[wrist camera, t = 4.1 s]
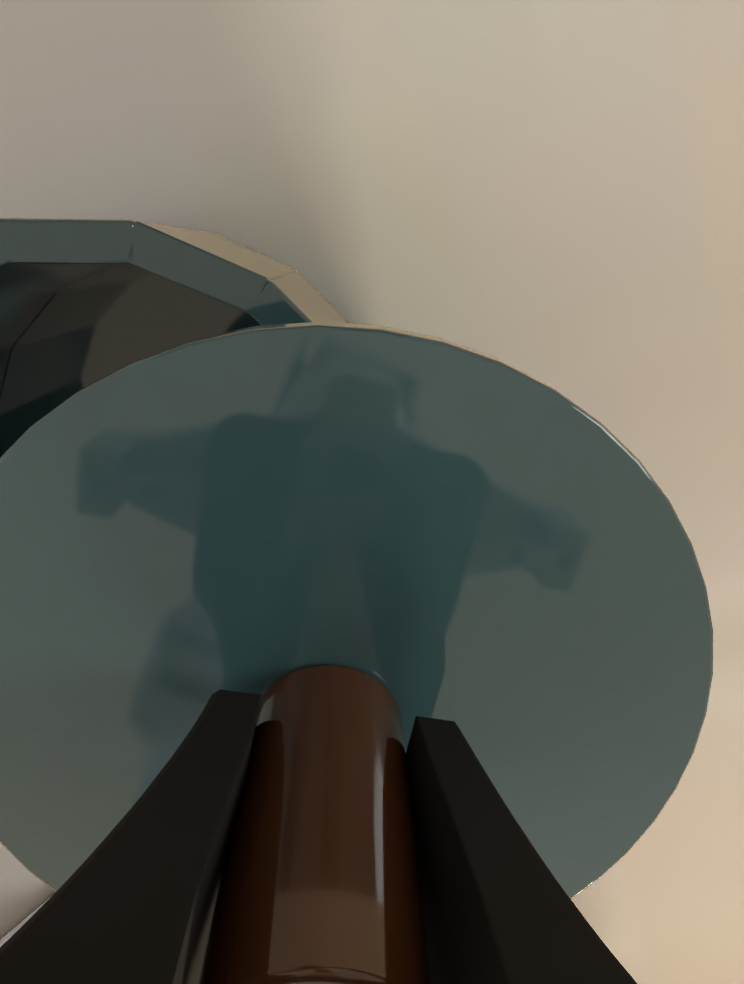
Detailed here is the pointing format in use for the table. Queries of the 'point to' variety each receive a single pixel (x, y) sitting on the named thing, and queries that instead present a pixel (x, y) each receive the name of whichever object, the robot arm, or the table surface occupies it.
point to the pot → (123, 303)
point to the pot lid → (339, 624)
